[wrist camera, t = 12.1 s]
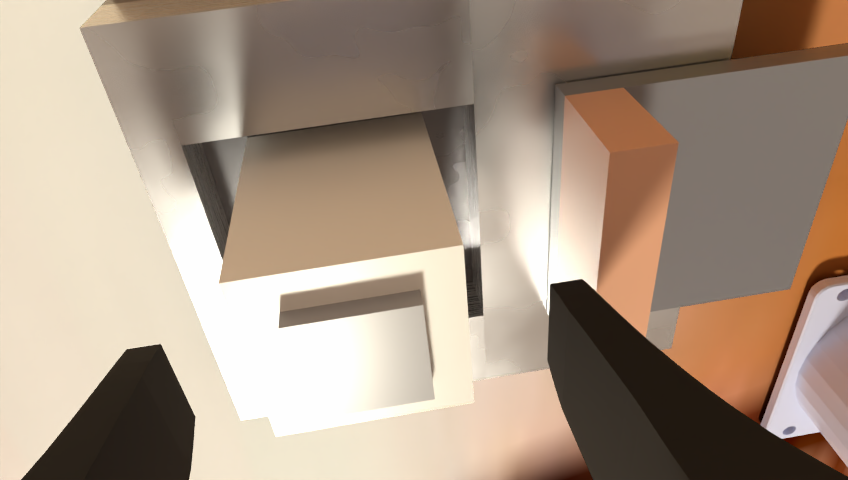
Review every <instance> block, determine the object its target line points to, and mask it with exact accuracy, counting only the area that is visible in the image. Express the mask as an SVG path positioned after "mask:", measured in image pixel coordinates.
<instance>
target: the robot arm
mask: <svg viewBox="0 0 848 480" xmlns="http://www.w3.org/2000/svg"><path fill="white" fill-rule="evenodd" d="M547 361H548V364H549V368H550V371H551V374H552V378H553V381H554V385H555V388H556V391H557V394H558V397H559V401H560V404H561V407H562V410H563V412H564V414H565V417H566V419H567V421H568V424H569V426H570V428H571V431H572V433H573V435H574V437H575V440H576V442H577V444H578V447H579V449H580V451H581V453H582V456H583V458H584V460H585V462H586V465H587V467H588V469H589V471H590V474H591V476H592V478H593V480H848V477H847V476H845V475H843V474H842V473H840V472H838V471H836V470H834V469H833V468H831V467H829V466H827V465H826V464H824V463H822V462H820V461H819V460H817V459H815V458H814V457H812V456H810V455H808V454H807V453H805V452H803V451H801V450H800V449H798V448H796V447H794V446H793V445H791V444H789V443H788V442H786V441H784V440H783V438H788V437H794V436H800V435H805V434H811V433H816V432H821V433H822V435H823V436H824V437H825V439H826V440H827V441H828V442H829V444H830V445H831V446H832V448H833V449H834V450H835V451H836V453H837V454H838V455H839V457H840V458H841V459H842V460H843V462H844V463H845V464H846V466H847V467H848V275H846V276H840V277H833V278H827V279H824V280H821V281H819V282H817V283H816V284H814V285H813V286H812V287H811V289H810V291H809V293H808V296H807V298H806V301H805V304H804V307H803V309H802V312H801V315H800V318H799V320H798V323H797V326H796V329H795V331H794V334H793V337H792V340H791V342H790V345H789V348H788V351H787V353H786V356H785V359H784V362H783V364H782V367H781V370H780V373H779V375H778V378H777V381H776V384H775V386H774V389H773V392H772V395H771V397H770V400H769V403H768V406H767V408H766V411H765V414H764V417H763V419H762V422H761V425H759V424H758V423H756V422H755V421H753V420H752V419H750V418H749V417H747V416H746V415H744V414H743V413H741V412H740V411H738V410H737V409H735V408H734V407H732V406H731V405H730V404H728V403H727V402H725V401H724V400H723V399H721V398H720V397H719V396H717V395H716V394H715V393H713V392H712V391H710V390H709V389H708V388H707V387H705V386H704V385H703V384H701V383H700V382H699V381H698V380H696V379H695V378H694V377H692V376H691V375H690V374H688V373H687V372H686V371H685V370H684V369H682V368H681V367H680V366H679V365H677V364H676V363H675V362H674V361H672V360H671V359H670V358H669V357H668V356H667V355H665V354H664V353H663V352H662V351H661V350H660V349H658V348H657V347H656V346H655V345H654V344H653V343H651V342H650V341H649V340H648V339H647V338H646V337H644V336H643V335H642V334H641V333H640V332H639V331H638V330H637V329H636V328H634V327H633V326H632V325H631V324H630V323H629V322H628V321H627V320H626V319H625V318H624V317H622V316H621V315H620V314H619V313H618V312H617V311H616V310H615V309H614V308H613V307H612V306H611V305H610V304H609V303H608V302H607V301H605V300H604V299H603V298H602V297H601V296H600V295H599V294H598V293H597V292H596V291H595V290H594V289H593V288H592V287H591V286H590V285H589V284H588V283H587V282H585V281H584V280H583V279H578V280H572V281H565V282H559V283H553V284H550V301H549V327H548V353H547ZM194 426H195V415H194V413H193V411H192V409H191V407H190V405H189V403H188V401H187V398H186V396H185V394H184V392H183V390H182V388H181V386H180V384H179V382H178V380H177V377H176V375H175V373H174V371H173V369H172V367H171V365H170V363H169V361H168V359H167V356H166V354H165V352H164V350H163V348H162V346H161V344H159V345H152V346H146V347H139V348H133V349H127V350H126V351H125V352H124V353H123V355H122V356H121V357H120V358H119V360H118V361H117V362H116V363H115V365H114V366H113V367H112V369H111V370H110V371H109V372H108V374H107V375H106V376H105V377H104V379H103V380H102V381H101V383H100V384H99V385H98V386H97V388H96V389H95V390H94V392H93V393H92V394H91V395H90V397H89V398H88V399H87V401H86V402H85V403H84V404H83V406H82V407H81V408H80V410H79V411H78V412H77V413H76V415H75V416H74V417H73V418H72V420H71V421H70V422H69V423H68V425H67V426H66V427H65V428H64V430H63V431H62V432H61V433H60V435H59V436H58V437H57V438H56V439H55V441H54V442H53V443H52V444H51V446H50V447H49V448H48V449H47V451H46V452H45V453H44V454H43V455H42V456H41V458H40V459H39V460H38V461H37V462H36V463H35V465H34V466H33V467H32V468H31V469H30V470H29V471H28V473H27V474H26V475H25V476H24V477H23V478H22V479H21V480H189V476H190V471H191V462H192V452H193V441H194Z"/></svg>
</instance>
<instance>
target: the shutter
mask: <svg viewBox="0 0 848 480" xmlns="http://www.w3.org/2000/svg"><path fill="white" fill-rule="evenodd" d="M847 119H848V43H845V44H838V45H831V46H824V47H817V48H810V49H803V50H795V51H788V52H781V53H774V54H767V55H760V56H753V57H746V58H739V59H732V60H725V61H718V62H710V63H703V64H696V65H689V66H682V67H675V68H668V69H661V70H654V71H647V72H640V73H632V74H625V75H618V76H611V77H604V78H597V79H590V80H583V81H576V82H569V83H562V84H556V86H555V113H554V139H553V166H552V193H551V220H550V247H549V274H548V301H547V313H548V315H549V301H550V284H553V283H559V282H565V281H572V280H578V279H583V280H584V281H585V282H587V283H588V284H589V285H590V286H591V287H592V288H593V289H594V290H595V291H596V292H597V293H598V294H599V295H600V296H601V297H602V298H603V299H604V300H605V301H607V302H608V303H609V304H610V305H611V306H612V307H613V308H614V309H615V310H616V311H617V312H618V313H619V314H620V315H621V316H622V317H624V318H625V319H626V320H627V321H628V322H629V323H630V324H631V325H632V326H633V327H634V328H636V329H637V330H638V331H639V332H640V333H641V334H642V335H643V336H644V337H646V333H647V327H648V322H649V316H650V312H653V311H659V310H665V309H671V308H677V307H683V306H690V305H696V304H702V303H708V302H714V301H720V300H726V299H732V298H738V297H744V296H751V295H757V294H763V293H769V292H775V291H781V290H787V289H790V288H791V285H792V282H793V279H794V276H795V273H796V270H797V267H798V264H799V261H800V258H801V255H802V252H803V249H804V246H805V243H806V240H807V238H808V235H809V232H810V229H811V226H812V223H813V220H814V217H815V214H816V211H817V208H818V205H819V202H820V199H821V196H822V193H823V190H824V187H825V184H826V181H827V179H828V176H829V173H830V170H831V167H832V164H833V161H834V158H835V155H836V152H837V149H838V146H839V143H840V140H841V137H842V134H843V131H844V128H845V125H846V122H847Z"/></svg>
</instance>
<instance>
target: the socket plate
mask: <svg viewBox="0 0 848 480" xmlns="http://www.w3.org/2000/svg"><path fill="white" fill-rule="evenodd" d="M742 3H743V0H106V1H105V2H104V3H103V4H102V5H101V6H100V7H99V8H98V10H97V11H96V12H95V13H94V14H93V15H92V16H91V17H90V18H89V19H88V20H87V21H86V22H85V23H84V24H83V25H82V26H81V27H80V30H81V32H82V35H83V37H84V40H85V42H86V44H87V47H88V49H89V52H90V54H91V57H92V59H93V61H94V64H95V66H96V69H97V71H98V74H99V76H100V78H101V81H102V83H103V86H104V88H105V91H106V93H107V95H108V98H109V100H110V103H111V105H112V108H113V110H114V112H115V115H116V117H117V120H118V122H119V125H120V127H121V129H122V132H123V134H124V137H125V139H126V142H127V144H128V146H129V149H130V151H131V154H132V156H133V159H134V161H135V163H136V166H137V168H138V171H139V173H140V176H141V178H142V180H143V183H144V185H145V188H146V190H147V193H148V195H149V197H150V200H151V202H152V205H153V207H154V209H155V212H156V214H157V217H158V219H159V222H160V224H161V226H162V229H163V231H164V234H165V236H166V239H167V241H168V243H169V246H170V248H171V251H172V253H173V256H174V258H175V260H176V263H177V265H178V268H179V270H180V273H181V275H182V277H183V280H184V282H185V285H186V287H187V290H188V292H189V294H190V297H191V299H192V302H193V304H194V307H195V309H196V311H197V314H198V316H199V319H200V321H201V324H202V326H203V328H204V331H205V333H206V336H207V338H208V341H209V343H210V345H211V348H212V350H213V353H214V355H215V358H216V360H217V362H218V365H219V367H220V370H221V372H222V375H223V377H224V379H225V382H226V384H227V387H228V389H229V391H230V394H231V396H232V399H233V401H234V404H235V406H236V408H237V411H238V413H239V416H240V418H241V420H246V419H252V418H258V417H263V416H268V414H267V412H266V409H265V406H264V404H263V401H262V399H261V396H260V393H259V391H258V388H257V385H256V383H255V380H254V377H253V375H252V372H251V369H250V367H249V364H248V361H247V359H246V356H245V353H244V351H243V348H242V345H241V343H240V340H239V337H238V335H237V332H236V329H235V327H234V324H233V321H232V319H231V316H230V313H229V311H228V308H227V305H226V303H225V300H224V297H223V295H222V292H221V289H220V287H219V284H218V283H219V278H220V272H221V267H222V262H223V257H224V252H225V247H226V242H227V237H228V232H229V227H230V222H231V217H232V212H233V207H234V202H235V197H236V191H237V186H238V181H239V176H240V171H241V166H242V161H243V156H244V151H245V146H246V141H247V138H249V137H256V136H262V135H269V134H276V133H283V132H290V131H297V130H304V129H311V128H318V127H324V126H331V125H338V124H345V123H352V122H359V121H366V120H373V119H379V118H386V117H393V116H400V115H407V114H414V113H422V116H423V119H424V122H425V126H426V129H427V132H428V135H429V138H430V141H431V144H432V148H433V151H434V154H435V157H436V160H437V163H438V166H439V170H440V173H441V176H442V179H443V182H444V185H445V188H446V192H447V195H448V198H449V201H450V204H451V207H452V211H453V214H454V217H455V220H456V223H457V226H458V229H459V233H460V236H461V239H462V242H463V246H464V260H465V275H466V289H467V304H468V318H469V333H470V347H471V362H472V376H473V381H478V380H484V379H490V378H496V377H502V376H508V375H514V374H520V373H526V372H532V371H538V370H544V369H550V368H549V364H548V361H547V353H548V327H549V315H548V313H547V301H548V274H549V247H550V220H551V193H552V166H553V139H554V113H555V86H556V84H562V83H569V82H576V81H583V80H590V79H597V78H604V77H611V76H618V75H625V74H632V73H640V72H647V71H654V70H661V69H668V68H675V67H682V66H689V65H696V64H703V63H710V62H718V61H725V60H731V56H732V52H733V47H734V42H735V37H736V32H737V27H738V22H739V18H740V13H741V8H742ZM679 309H680V307H677V308H671V309H665V310H659V311H653V312H650V316H649V322H648V327H647V333H646V338H647V339H648V340H649V341H650V342H651V343H653V344H654V345H655V346H656V347H657V348H658V349H660V350H663V349H669V348H671V347H672V343H673V338H674V333H675V328H676V323H677V318H678V314H679Z"/></svg>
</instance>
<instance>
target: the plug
mask: <svg viewBox="0 0 848 480" xmlns="http://www.w3.org/2000/svg"><path fill="white" fill-rule="evenodd" d="M218 284H219V287H220V289H221V292H222V295H223V297H224V300H225V303H226V305H227V308H228V311H229V313H230V316H231V319H232V321H233V324H234V327H235V329H236V332H237V335H238V337H239V340H240V343H241V345H242V348H243V351H244V353H245V356H246V359H247V361H248V364H249V367H250V369H251V372H252V375H253V377H254V380H255V383H256V385H257V388H258V391H259V393H260V396H261V399H262V401H263V404H264V406H265V409H266V412H267V414H268V417H269V420H270V422H271V425H272V428H273V430H274V433H275V436H276V437H278V436H284V435H290V434H296V433H302V432H307V431H313V430H319V429H325V428H331V427H336V426H342V425H348V424H354V423H360V422H366V421H371V420H377V419H383V418H389V417H395V416H400V415H406V414H412V413H418V412H424V411H429V410H435V409H441V408H447V407H453V406H459V405H464V404H470V403H474V391H473V376H472V362H471V347H470V333H469V318H468V304H467V289H466V275H465V260H464V246H463V242H462V239H461V236H460V233H459V229H458V226H457V223H456V220H455V217H454V214H453V211H452V207H451V204H450V201H449V198H448V195H447V192H446V188H445V185H444V182H443V179H442V176H441V173H440V170H439V166H438V163H437V160H436V157H435V154H434V151H433V148H432V144H431V141H430V138H429V135H428V132H427V129H426V126H425V122H424V119H423V116H422V113H414V114H407V115H400V116H393V117H386V118H379V119H373V120H366V121H359V122H352V123H345V124H338V125H331V126H324V127H318V128H311V129H304V130H297V131H290V132H283V133H276V134H269V135H262V136H256V137H249V138H247V141H246V146H245V151H244V156H243V161H242V166H241V171H240V176H239V181H238V186H237V191H236V197H235V202H234V207H233V212H232V217H231V222H230V227H229V232H228V237H227V242H226V247H225V252H224V257H223V262H222V267H221V272H220V278H219V283H218Z"/></svg>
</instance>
